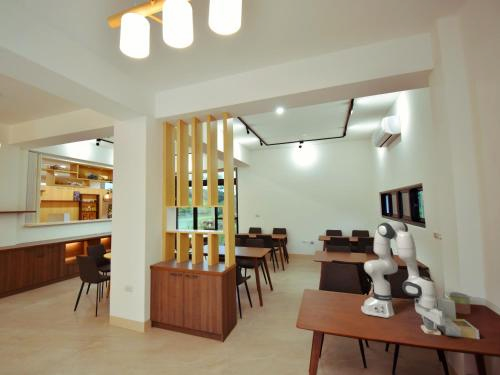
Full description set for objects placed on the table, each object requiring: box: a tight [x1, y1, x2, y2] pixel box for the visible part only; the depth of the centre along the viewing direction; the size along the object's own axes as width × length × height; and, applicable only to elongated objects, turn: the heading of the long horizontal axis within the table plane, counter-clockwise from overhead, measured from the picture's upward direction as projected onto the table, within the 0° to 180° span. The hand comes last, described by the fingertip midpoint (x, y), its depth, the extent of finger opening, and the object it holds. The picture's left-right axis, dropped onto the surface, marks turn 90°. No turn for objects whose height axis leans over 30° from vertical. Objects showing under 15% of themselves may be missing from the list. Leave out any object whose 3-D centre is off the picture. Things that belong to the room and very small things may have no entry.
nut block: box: [423, 318, 438, 331], centre depth 151 cm, size 5×5×5 cm
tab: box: [420, 324, 442, 336], centre depth 150 cm, size 8×7×2 cm
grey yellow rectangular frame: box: [437, 318, 480, 340], centre depth 150 cm, size 17×14×5 cm
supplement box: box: [437, 297, 457, 319], centre depth 169 cm, size 7×7×13 cm
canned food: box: [449, 291, 471, 315], centre depth 178 cm, size 11×11×12 cm
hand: (430, 325), depth 150 cm, fingers closed on nut block, 6 cm apart
